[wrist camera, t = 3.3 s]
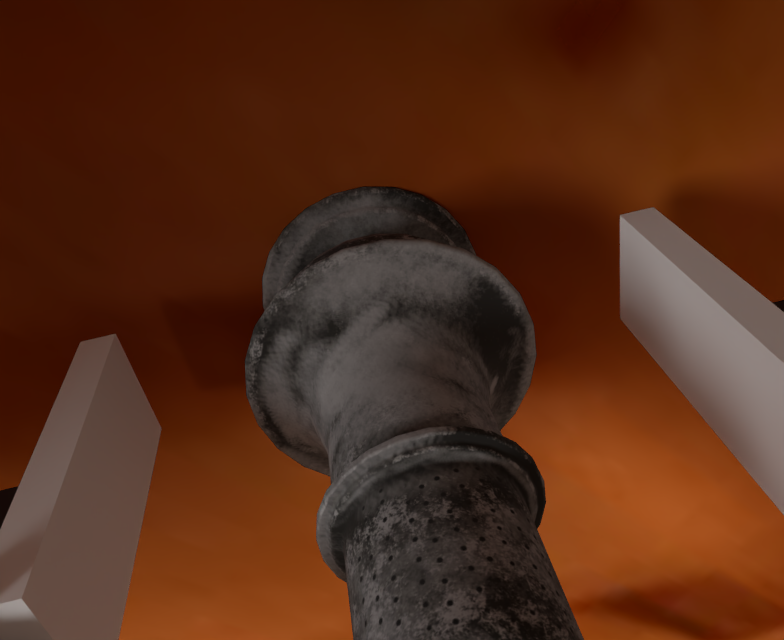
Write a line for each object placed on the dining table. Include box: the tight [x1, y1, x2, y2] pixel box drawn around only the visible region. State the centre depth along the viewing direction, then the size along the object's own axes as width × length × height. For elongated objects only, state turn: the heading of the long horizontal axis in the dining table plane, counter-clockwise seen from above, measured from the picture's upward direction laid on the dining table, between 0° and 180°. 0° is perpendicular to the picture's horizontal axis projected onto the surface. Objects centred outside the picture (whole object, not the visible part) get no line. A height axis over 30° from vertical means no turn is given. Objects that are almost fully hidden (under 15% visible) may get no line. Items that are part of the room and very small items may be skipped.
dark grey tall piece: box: [245, 187, 584, 640], centre depth 12 cm, size 6×6×12 cm
